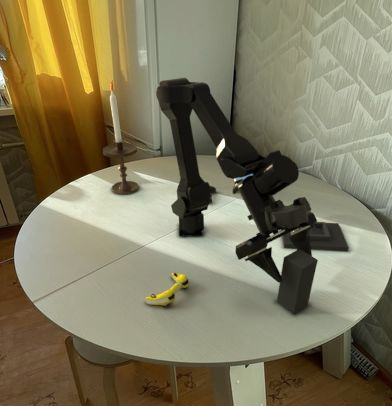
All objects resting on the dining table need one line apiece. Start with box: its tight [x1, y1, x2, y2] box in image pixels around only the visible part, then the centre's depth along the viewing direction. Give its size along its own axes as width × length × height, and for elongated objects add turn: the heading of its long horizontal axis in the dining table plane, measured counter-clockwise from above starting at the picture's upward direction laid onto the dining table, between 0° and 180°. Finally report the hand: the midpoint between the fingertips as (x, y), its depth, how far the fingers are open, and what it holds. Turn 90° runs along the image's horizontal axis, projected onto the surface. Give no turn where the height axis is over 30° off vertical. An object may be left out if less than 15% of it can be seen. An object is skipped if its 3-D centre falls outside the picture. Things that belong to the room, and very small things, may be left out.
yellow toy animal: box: [144, 272, 190, 307], centre depth 77 cm, size 10×6×4 cm, turn 148°
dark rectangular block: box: [276, 249, 319, 315], centre depth 72 cm, size 5×5×12 cm
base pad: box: [280, 221, 349, 252], centre depth 95 cm, size 16×12×3 cm
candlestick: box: [102, 79, 140, 196], centre depth 112 cm, size 11×11×35 cm
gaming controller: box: [209, 185, 217, 205], centre depth 115 cm, size 10×5×6 cm
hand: (296, 272), depth 71 cm, fingers open, 9 cm apart
